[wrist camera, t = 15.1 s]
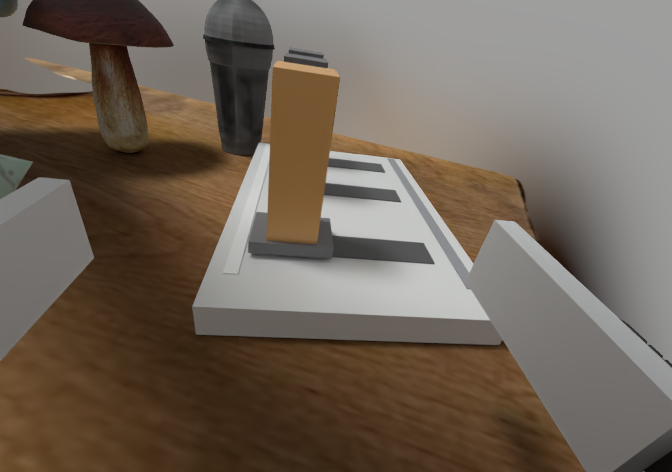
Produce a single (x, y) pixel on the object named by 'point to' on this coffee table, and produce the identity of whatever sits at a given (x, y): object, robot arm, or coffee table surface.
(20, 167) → the green toy bird
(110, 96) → the decorative mushroom
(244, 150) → the beverage cup
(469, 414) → the coffee table surface
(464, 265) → the slotted peg board
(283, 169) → the breaker handle
